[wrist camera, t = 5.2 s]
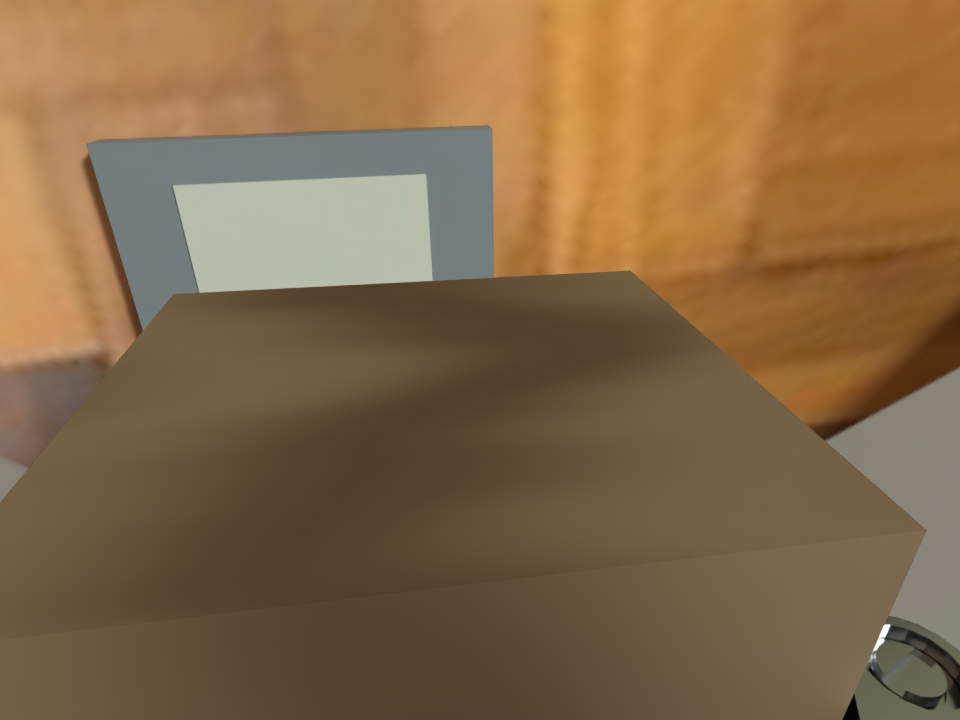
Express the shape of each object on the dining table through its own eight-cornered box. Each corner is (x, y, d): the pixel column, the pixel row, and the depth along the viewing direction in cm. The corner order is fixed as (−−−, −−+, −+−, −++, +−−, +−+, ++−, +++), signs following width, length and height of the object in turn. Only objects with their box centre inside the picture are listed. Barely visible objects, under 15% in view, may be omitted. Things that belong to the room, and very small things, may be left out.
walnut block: (630, 271, 10) (927, 531, 5) (593, 582, 13) (741, 947, 8) (174, 293, 9) (-129, 654, 4) (254, 623, 12) (159, 1070, 7)
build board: (488, 125, 23) (492, 128, 22) (492, 397, 28) (495, 409, 27) (98, 139, 22) (84, 143, 21) (182, 423, 27) (174, 437, 26)
